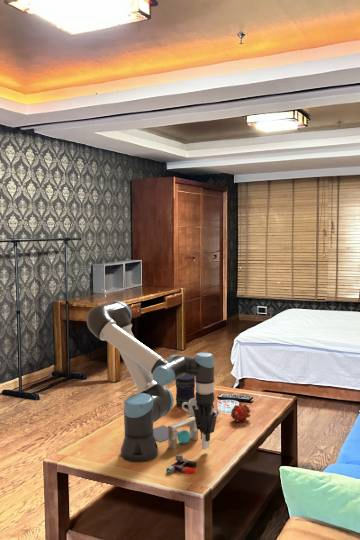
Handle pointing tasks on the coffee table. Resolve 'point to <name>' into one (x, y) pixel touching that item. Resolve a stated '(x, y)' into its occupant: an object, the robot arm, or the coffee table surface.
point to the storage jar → (184, 390)
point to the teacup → (190, 406)
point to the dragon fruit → (240, 412)
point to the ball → (183, 436)
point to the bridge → (173, 428)
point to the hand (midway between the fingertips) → (205, 447)
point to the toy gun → (182, 465)
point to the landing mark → (161, 433)
